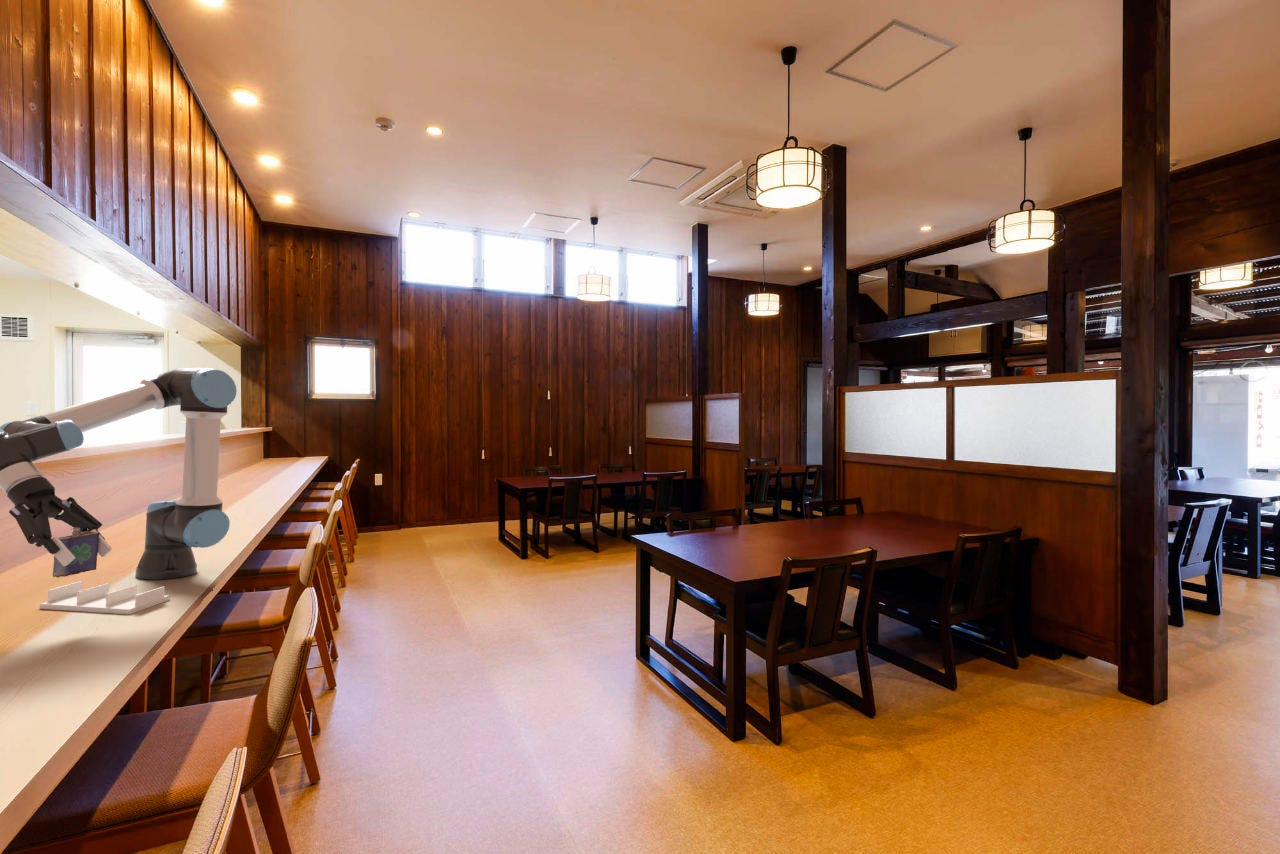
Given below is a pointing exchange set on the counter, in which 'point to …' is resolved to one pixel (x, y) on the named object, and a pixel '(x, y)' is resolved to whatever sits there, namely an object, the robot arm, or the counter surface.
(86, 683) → the counter surface
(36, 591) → the counter surface
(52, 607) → the rack
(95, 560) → the flask
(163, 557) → the robot arm
